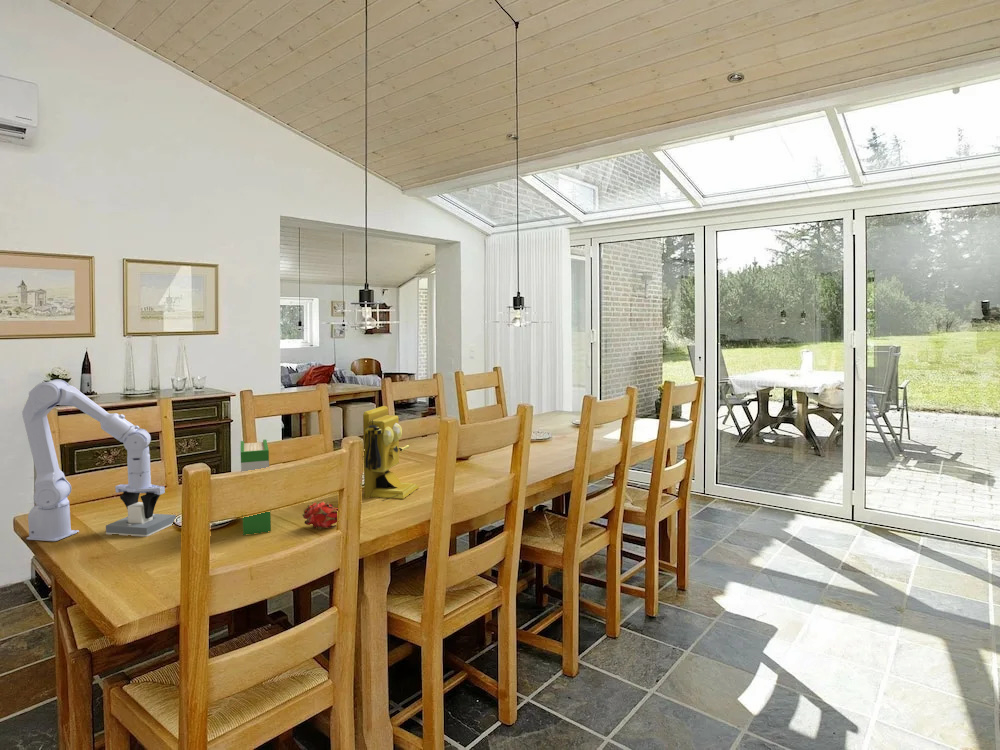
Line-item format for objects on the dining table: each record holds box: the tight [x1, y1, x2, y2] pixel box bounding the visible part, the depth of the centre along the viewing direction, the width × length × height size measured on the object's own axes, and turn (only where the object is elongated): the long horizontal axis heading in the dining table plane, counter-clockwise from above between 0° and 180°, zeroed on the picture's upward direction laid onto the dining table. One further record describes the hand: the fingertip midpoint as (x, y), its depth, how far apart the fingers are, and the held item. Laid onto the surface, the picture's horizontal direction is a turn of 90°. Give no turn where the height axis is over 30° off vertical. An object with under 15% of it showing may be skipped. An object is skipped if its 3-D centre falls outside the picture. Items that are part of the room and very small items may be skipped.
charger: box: [126, 501, 153, 524], centre depth 178 cm, size 4×4×6 cm
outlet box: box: [105, 513, 177, 538], centre depth 179 cm, size 13×12×3 cm
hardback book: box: [240, 439, 272, 536], centre depth 182 cm, size 18×7×24 cm, turn 23°
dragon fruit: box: [302, 500, 338, 530], centre depth 180 cm, size 8×8×12 cm
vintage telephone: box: [362, 405, 420, 502], centre depth 216 cm, size 31×14×30 cm, turn 167°
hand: (141, 517), depth 179 cm, fingers closed on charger, 4 cm apart
